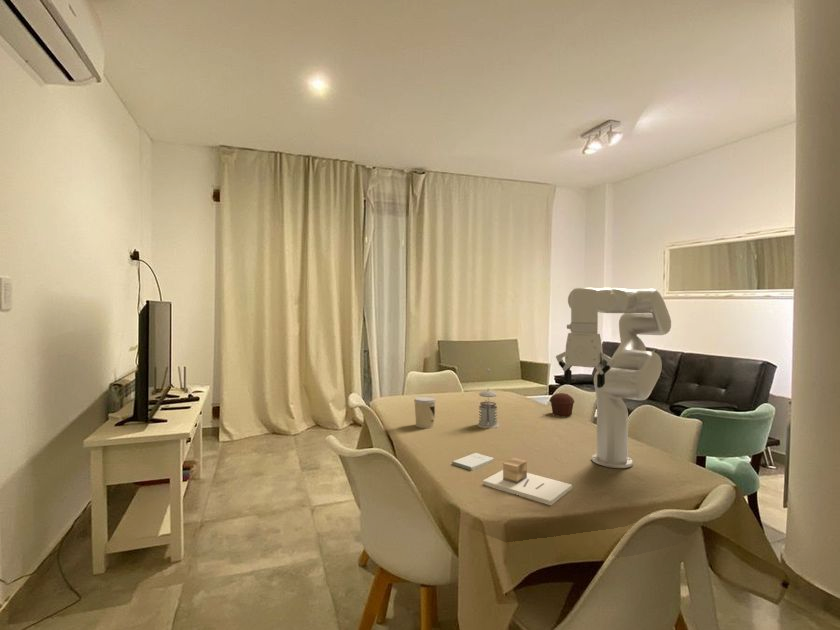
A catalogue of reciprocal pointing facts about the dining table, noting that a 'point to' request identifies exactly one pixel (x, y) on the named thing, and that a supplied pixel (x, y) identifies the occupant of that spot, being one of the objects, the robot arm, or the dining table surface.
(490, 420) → the french press
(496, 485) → the board
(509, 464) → the block
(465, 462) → the external hard drive
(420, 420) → the coffee cup
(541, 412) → the dining table surface
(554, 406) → the muffin
